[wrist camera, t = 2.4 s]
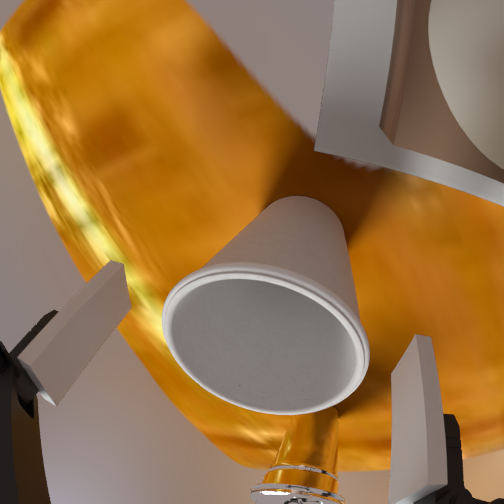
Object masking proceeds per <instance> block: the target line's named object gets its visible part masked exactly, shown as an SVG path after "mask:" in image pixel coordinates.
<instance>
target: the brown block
mask: <svg viewBox="0 0 504 504" xmlns="http://www.w3.org/2000/svg"><path fill="white" fill-rule="evenodd" d="M379 127H380V128H381V130H382V131H383V132H384V134H385V135H386V136H387V138H388V139H389V140H390V142H391V143H392V144H393V145H394V146H397V147H401V148H404V149H408V150H411V151H414V152H418V153H421V154H424V155H427V156H430V157H434V158H437V159H440V160H443V161H446V162H448V163H451V164H454V165H457V166H460V167H463V168H465V169H468V170H471V171H473V172H476V173H479V174H481V175H484V176H486V177H489V178H491V179H494V180H496V181H499V182H501V183H503V184H504V0H397V7H396V18H395V27H394V36H393V44H392V52H391V59H390V66H389V73H388V79H387V85H386V91H385V97H384V103H383V108H382V114H381V119H380V124H379Z"/></svg>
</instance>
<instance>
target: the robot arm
mask: <svg viewBox="0 0 504 504" xmlns="http://www.w3.org/2000/svg"><path fill="white" fill-rule="evenodd" d="M130 309H131V304H130V299H129V293H128V288H127V282H126V276H125V270H124V264H122V263H118V262H115V261H112V260H110V261H109V262H108V263H107V264H106V265H105V266H104V267H103V268H102V269H101V270H100V271H99V272H98V273H97V274H96V275H95V276H94V277H93V278H92V279H91V280H90V281H89V282H88V283H87V284H86V285H85V286H84V287H83V288H82V289H81V290H80V291H79V292H78V293H77V294H76V295H75V296H74V297H73V298H72V299H71V300H70V301H69V302H68V303H67V304H66V305H65V306H64V307H63V308H62V309H61V310H60V311H59V312H58V311H56V310H53V311H51V312H50V313H48V314H46V315H44V316H43V318H42V319H41V320H40V321H39V322H38V323H37V325H35V326H34V327H33V328H32V330H31V331H29V332H28V333H27V334H26V336H25V337H24V338H23V339H22V340H21V341H20V342H19V343H18V344H17V346H16V347H15V348H14V349H13V350H12V351H11V352H10V353H8V352H7V350H6V348H5V346H4V345H3V343H2V342H1V341H0V504H51V502H50V497H49V493H48V487H47V481H46V476H45V470H44V464H43V456H42V448H41V439H40V429H39V416H38V399H37V396H36V394H37V393H38V391H39V392H40V393H41V395H42V396H43V397H44V399H46V400H47V401H49V402H50V403H52V404H54V405H55V406H58V404H59V403H60V401H61V400H62V399H63V397H64V396H65V394H66V393H67V392H68V390H69V389H70V388H71V386H72V385H73V383H74V382H75V381H76V379H77V378H78V377H79V375H80V374H81V372H82V371H83V370H84V369H85V367H86V366H87V365H88V363H89V362H90V361H91V359H92V358H93V357H94V355H95V354H96V353H97V351H98V350H99V349H100V348H101V346H102V345H103V343H104V342H105V341H106V340H107V338H108V337H109V336H110V334H111V333H112V332H113V331H114V329H115V328H116V327H117V326H118V324H119V323H120V322H121V321H122V319H123V318H124V317H125V316H126V314H127V313H128V312H129V311H130ZM391 387H392V448H391V470H390V485H389V497H388V504H412V503H414V504H504V499H502V498H498V499H496V500H493V501H492V502H486V501H482V500H478V499H475V498H473V497H472V495H471V493H470V492H469V491H468V490H467V489H465V487H464V481H463V462H462V450H461V440H460V429H459V425H458V422H457V420H456V418H455V416H454V415H453V414H443V409H442V400H441V393H440V386H439V379H438V373H437V367H436V361H435V356H434V350H433V345H432V340H431V337H428V336H423V335H417V334H415V336H414V338H413V340H412V341H411V343H410V345H409V346H408V348H407V350H406V351H405V353H404V354H403V356H402V358H401V359H400V361H399V362H398V364H397V366H396V367H395V369H394V370H393V372H392V373H391Z"/></svg>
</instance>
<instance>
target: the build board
mask: <svg viewBox="0 0 504 504" xmlns="http://www.w3.org/2000/svg"><path fill="white" fill-rule="evenodd" d="M396 7H397V0H335V2H334V11H333V20H332V29H331V37H330V45H329V53H328V60H327V68H326V75H325V82H324V89H323V96H322V103H321V110H320V116H319V123H318V129H317V135H316V141H315V147H314V151H317V152H322V153H327V154H332V155H336V156H341V157H345V158H349V159H353V160H358V161H362V162H366V163H370V164H374V165H378V166H381V167H385V168H389V169H393V170H396V171H400V172H403V173H407V174H410V175H414V176H417V177H420V178H424V179H427V180H430V181H433V182H437V183H440V184H443V185H446V186H449V187H452V188H455V189H458V190H461V191H464V192H466V193H469V194H472V195H475V196H478V197H480V198H483V199H486V200H488V201H491V202H494V203H496V204H499V205H501V206H504V184H503V183H501V182H499V181H496V180H494V179H491V178H489V177H486V176H484V175H481V174H479V173H476V172H473V171H471V170H468V169H465V168H463V167H460V166H457V165H454V164H451V163H448V162H446V161H443V160H440V159H437V158H434V157H430V156H427V155H424V154H421V153H418V152H414V151H411V150H408V149H404V148H401V147H397V146H394V145H393V144H392V143H391V142H390V140H389V139H388V138H387V136H386V135H385V134H384V132H383V131H382V130H381V128H380V127H379V124H380V119H381V114H382V108H383V103H384V97H385V91H386V85H387V79H388V73H389V66H390V59H391V52H392V44H393V36H394V27H395V18H396Z"/></svg>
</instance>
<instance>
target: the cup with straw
mask: <svg viewBox="0 0 504 504" xmlns="http://www.w3.org/2000/svg"><path fill="white" fill-rule="evenodd" d="M338 416H339V413H338V411H337V409H336V408H334V407H333V406H330V407H328V408H326V409H323V410H320V411H316V412H312V413H306V414H298V415H294V416H293V417H292V419H291V422H290V424H289V427H288V429H287V432H286V434H285V436H284V439H283V441H282V444H281V446H280V448H279V451H278V453H277V455H276V458H275V460H274V462H273V465H271V466H270V468H269V470H268V472H267V474H265V476H264V479H263V481H262V483H261V484H256V485H253V486H252V487H251V488H250V490H251V494H250V498H251V499H252V500H253V501H254V502H256V503H255V504H345V503H346V500H345V498H344V497H342V496H341V495H338V492H339V483H338V475H337V465H338V432H339V423H338V420H337V418H338Z"/></svg>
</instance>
